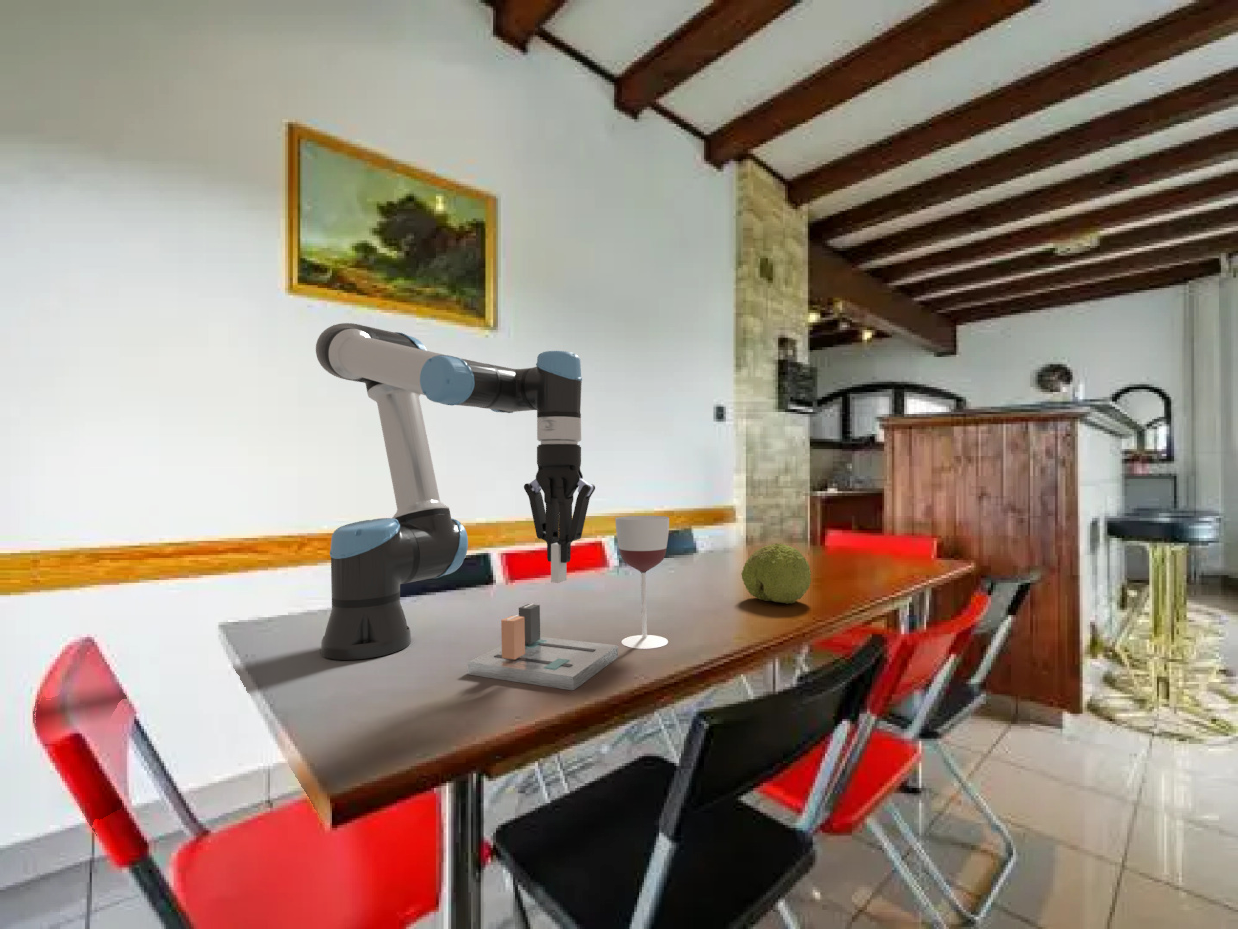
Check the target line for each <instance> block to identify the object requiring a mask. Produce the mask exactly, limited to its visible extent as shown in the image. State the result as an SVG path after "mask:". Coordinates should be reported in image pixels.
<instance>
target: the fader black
mask: <svg viewBox="0 0 1238 929" xmlns="http://www.w3.org/2000/svg"><path fill="white" fill-rule="evenodd" d="M540 606H541V605H540V604H535V602H534V603H531V604H530V603H527V604H524V605H523V606H520V607H518V615H519V616H521V617H524V619H525V643H527V644H532V643H534V642H536V641H538V640H540V637H541V613H540V612H541V607H540Z"/></svg>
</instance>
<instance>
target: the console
mask: <svg viewBox="0 0 1238 929" xmlns="http://www.w3.org/2000/svg"><path fill="white" fill-rule="evenodd" d="M617 658H619V645H616V644H608V643H601V642H600V643H599V642H590V641H582V640H575V639H574V640H573V639H572V640H571V639H565V638H564V639H563V638H555V637H545V636H540V640H538V641H536V642H534V643H532V644H527V643H525V654H524V655H522V656H520V657H518V658H517V659H515V660H514V659H507V658H502V644H501V645H499V646H497V647H496V648H493V649H491V650H489V651H488V652H485V653H483V654H480V655H479V656H477V657H475V658H473V659H470V660H468V661H467V662H466V663H467V675H469V676H474V677H475V676H476V677H483V678H488V679H496V680H501V681H502V680H503V681H509V682H514V683H522V684H528V685H533V686H541V687H547V688H555V689H561V690H565V691H568V690H569V691H575V690H576V689H578V688H579V687H581V686H582V685H583V684H584V683H586V682H587V681H588V680H590V679H591V678H593V677H594V676H595V675H596V674H597V673H599V672H600V671H601V670H603V669H604V668H606V667H607V666H608V665H610V664H612V662H614V661H615V660H617Z"/></svg>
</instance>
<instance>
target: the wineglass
mask: <svg viewBox="0 0 1238 929" xmlns="http://www.w3.org/2000/svg"><path fill="white" fill-rule="evenodd" d="M669 529H670V517H669V516H664V515H627V516H626V515H625V516H618V517H615V532H616V539H617V544H618V545H617V546H618V550H619V555H620V556H621V560H622V561H623V562H624V563H625V564H627V565H628V566H630V567H631V568H632V569H635V570H637V571H638V572H640V586H641V587H640V588H641V595H640V596H641V634H637V635H631V636H628V637H624V638H623V639H622V640H621V644H622V645H623V646H625V647H629V648H632V649H640V650H643V649H645V650H646V649H647V650H648V649H657V648H660V647H661V648H662V647H664V646H666V645H667V644H669V641H668V639H667V638H665V637H662V636H660V635H655V634H654V635H653V634H652V635H651V634H648V628H647V627H648V625H647V624H648V620H647V580H646V579H647V576H646V573H647V572H648V571H649V570H651V569H653V568H655V567H656V566H658V565H659V564H660V563H661V562H662V561H663V560H664V558H665V556H666V552H667V547H668V541H669V532H670V531H669Z"/></svg>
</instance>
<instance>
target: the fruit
mask: <svg viewBox="0 0 1238 929" xmlns="http://www.w3.org/2000/svg"><path fill="white" fill-rule="evenodd" d="M811 575H812V573H811V569H810V565H809V561H807V559H806V557H805V556H804V555H803V554H802V552H800V551H799V550H798V549H797V548H796V547H792V546H789V545H787V544H784V543H774V544H768V545H766V546H763V547H759V548H758V549H757V550H756V549H755V551H753V553H752V554H751V555H750V556H749V557H748V558H747V559H746V562H745V563H744V565H743V569H742V570H741V574H740V576H741V579H742V581H743V585H744V586H745V589H746V590H747V592H748V593H749V594H750V595H751V596H752V597H754V598H756V599H758V600H763V601H765V602H774V603H781V604H787V605H788V604H793V603H796V602H797V601H798V600H800V599H801V598H802V597H804V595H806V593H807V591H808V590H809V588H810V586H811V582H812V581H811V580H812V579H811Z"/></svg>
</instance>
